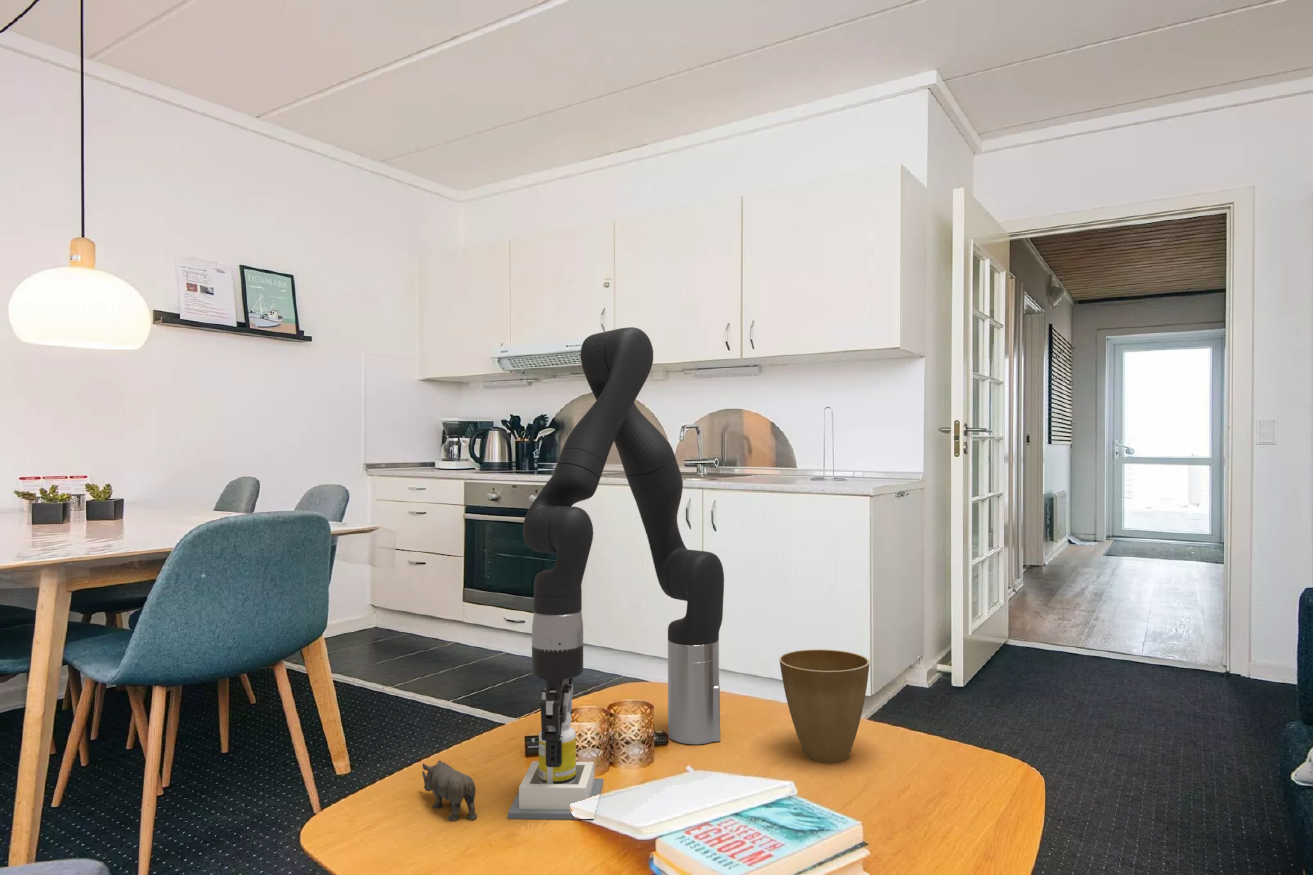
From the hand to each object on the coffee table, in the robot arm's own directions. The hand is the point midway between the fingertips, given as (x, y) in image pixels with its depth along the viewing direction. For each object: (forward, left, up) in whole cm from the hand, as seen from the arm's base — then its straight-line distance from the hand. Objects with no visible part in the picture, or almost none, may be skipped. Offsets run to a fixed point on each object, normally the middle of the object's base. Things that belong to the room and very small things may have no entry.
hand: (557, 757), depth 114 cm
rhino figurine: (+16, +2, -7) cm, 17 cm away
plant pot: (-42, -19, -6) cm, 47 cm away
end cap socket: (0, 0, -6) cm, 6 cm away
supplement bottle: (0, 0, -4) cm, 4 cm away
